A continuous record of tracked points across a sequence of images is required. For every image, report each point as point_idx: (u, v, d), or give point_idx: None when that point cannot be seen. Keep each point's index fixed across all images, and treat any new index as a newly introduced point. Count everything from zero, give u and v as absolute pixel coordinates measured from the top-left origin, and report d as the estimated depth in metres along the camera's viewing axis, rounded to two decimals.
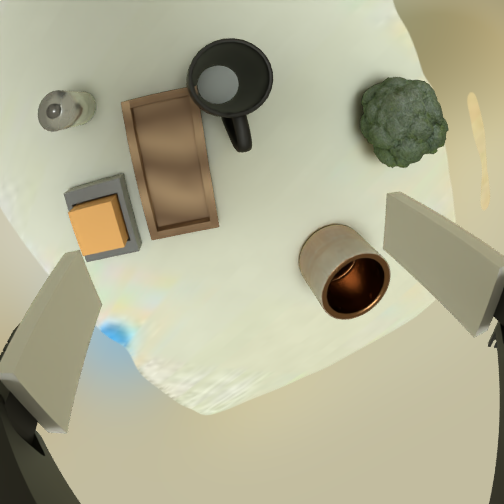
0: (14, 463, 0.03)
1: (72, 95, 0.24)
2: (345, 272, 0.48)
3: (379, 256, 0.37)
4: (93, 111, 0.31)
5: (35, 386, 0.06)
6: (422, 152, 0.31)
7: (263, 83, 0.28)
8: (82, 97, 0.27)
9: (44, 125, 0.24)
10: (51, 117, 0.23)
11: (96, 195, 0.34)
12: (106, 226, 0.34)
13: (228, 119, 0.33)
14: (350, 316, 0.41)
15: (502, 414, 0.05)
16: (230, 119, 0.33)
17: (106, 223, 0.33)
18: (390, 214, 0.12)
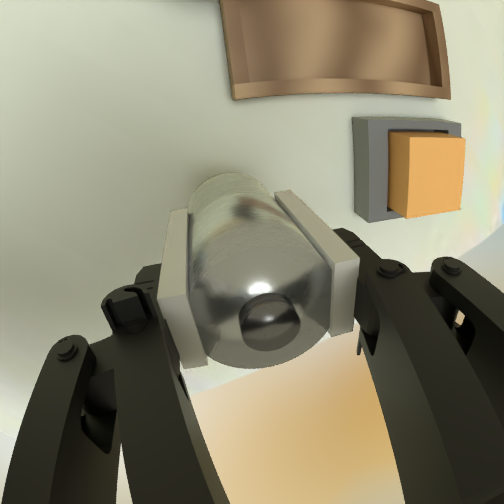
0: (176, 406, 0.05)
1: (213, 245, 0.08)
2: None
3: None
4: (248, 178, 0.14)
5: None
6: None
7: None
8: (214, 207, 0.11)
9: (304, 345, 0.09)
10: (294, 331, 0.08)
11: (384, 164, 0.21)
12: (439, 156, 0.18)
13: None
14: None
15: (391, 435, 0.05)
16: None
17: (435, 155, 0.18)
18: None
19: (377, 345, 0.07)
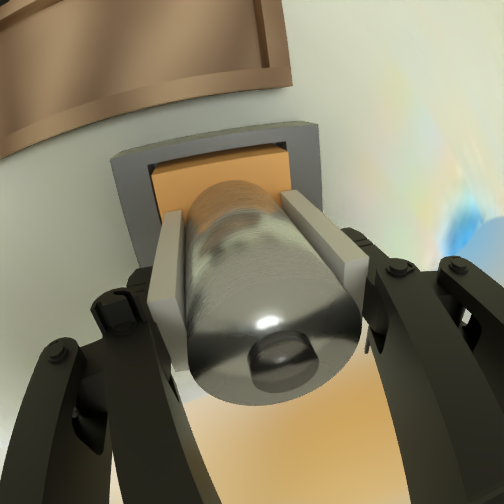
0: (165, 408, 0.05)
1: (217, 275, 0.07)
2: None
3: None
4: (253, 186, 0.13)
5: (184, 315, 0.08)
6: None
7: None
8: (216, 223, 0.09)
9: (319, 380, 0.08)
10: (311, 372, 0.07)
11: (153, 220, 0.14)
12: None
13: None
14: None
15: (398, 433, 0.05)
16: None
17: None
18: (284, 211, 0.13)
19: (385, 343, 0.07)
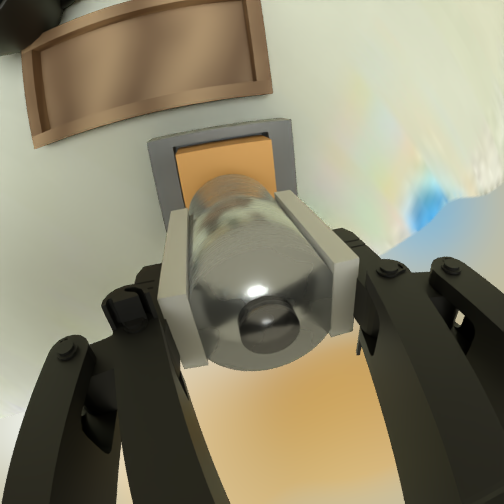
0: (177, 406, 0.05)
1: (212, 248, 0.08)
2: None
3: None
4: (249, 179, 0.14)
5: None
6: None
7: None
8: (214, 209, 0.11)
9: (304, 348, 0.09)
10: (293, 334, 0.08)
11: (175, 185, 0.21)
12: (226, 168, 0.19)
13: None
14: None
15: (391, 436, 0.05)
16: None
17: (220, 167, 0.19)
18: None
19: (377, 345, 0.07)
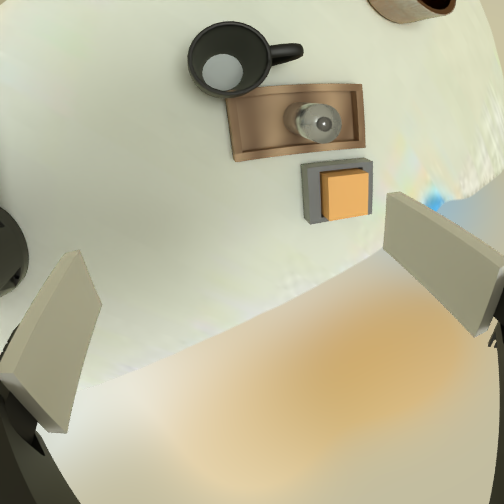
0: (14, 463, 0.03)
1: (308, 106, 0.30)
2: None
3: None
4: None
5: (35, 386, 0.06)
6: None
7: (233, 30, 0.25)
8: (302, 104, 0.32)
9: (333, 137, 0.31)
10: (330, 126, 0.29)
11: (318, 191, 0.40)
12: (348, 185, 0.38)
13: None
14: None
15: (502, 414, 0.05)
16: None
17: (346, 185, 0.38)
18: (391, 214, 0.12)
19: None
